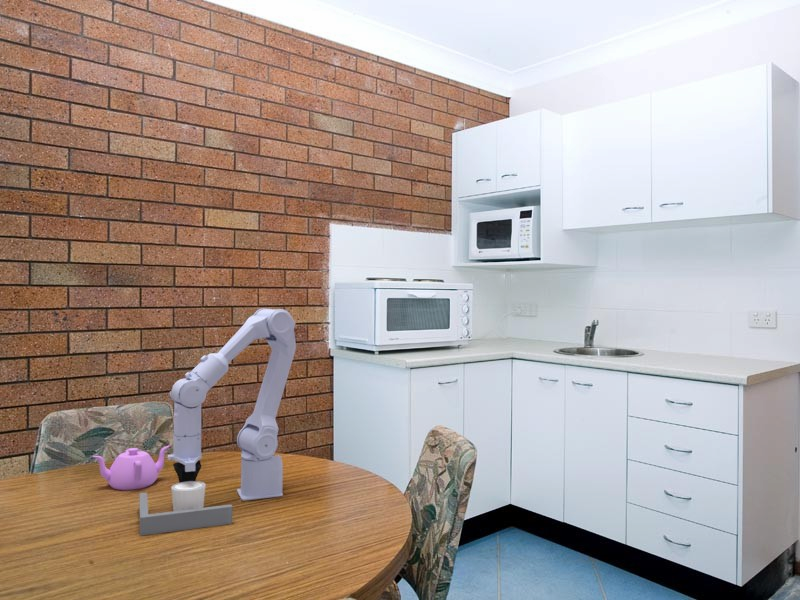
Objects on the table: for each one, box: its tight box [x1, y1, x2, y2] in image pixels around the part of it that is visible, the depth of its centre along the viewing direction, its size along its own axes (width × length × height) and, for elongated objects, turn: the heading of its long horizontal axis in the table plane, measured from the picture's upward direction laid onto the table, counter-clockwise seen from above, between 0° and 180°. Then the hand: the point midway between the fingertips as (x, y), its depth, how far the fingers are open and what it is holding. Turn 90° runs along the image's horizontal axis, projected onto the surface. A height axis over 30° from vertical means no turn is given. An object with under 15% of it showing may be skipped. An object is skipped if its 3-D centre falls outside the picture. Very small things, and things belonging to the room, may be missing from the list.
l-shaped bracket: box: [138, 492, 234, 537], centre depth 130 cm, size 18×16×4 cm
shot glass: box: [170, 480, 206, 511], centre depth 128 cm, size 7×7×7 cm
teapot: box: [92, 444, 171, 491], centre depth 151 cm, size 12×14×9 cm
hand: (186, 495), depth 134 cm, fingers closed
